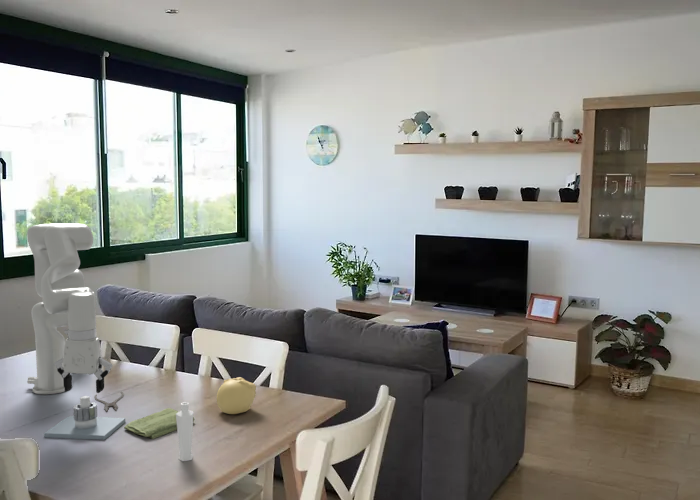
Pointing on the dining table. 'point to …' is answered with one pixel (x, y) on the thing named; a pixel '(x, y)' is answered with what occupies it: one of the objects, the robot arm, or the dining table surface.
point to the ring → (85, 412)
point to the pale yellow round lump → (235, 395)
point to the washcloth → (155, 424)
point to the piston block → (85, 426)
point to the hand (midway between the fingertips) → (84, 390)
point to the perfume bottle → (185, 432)
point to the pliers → (110, 403)
